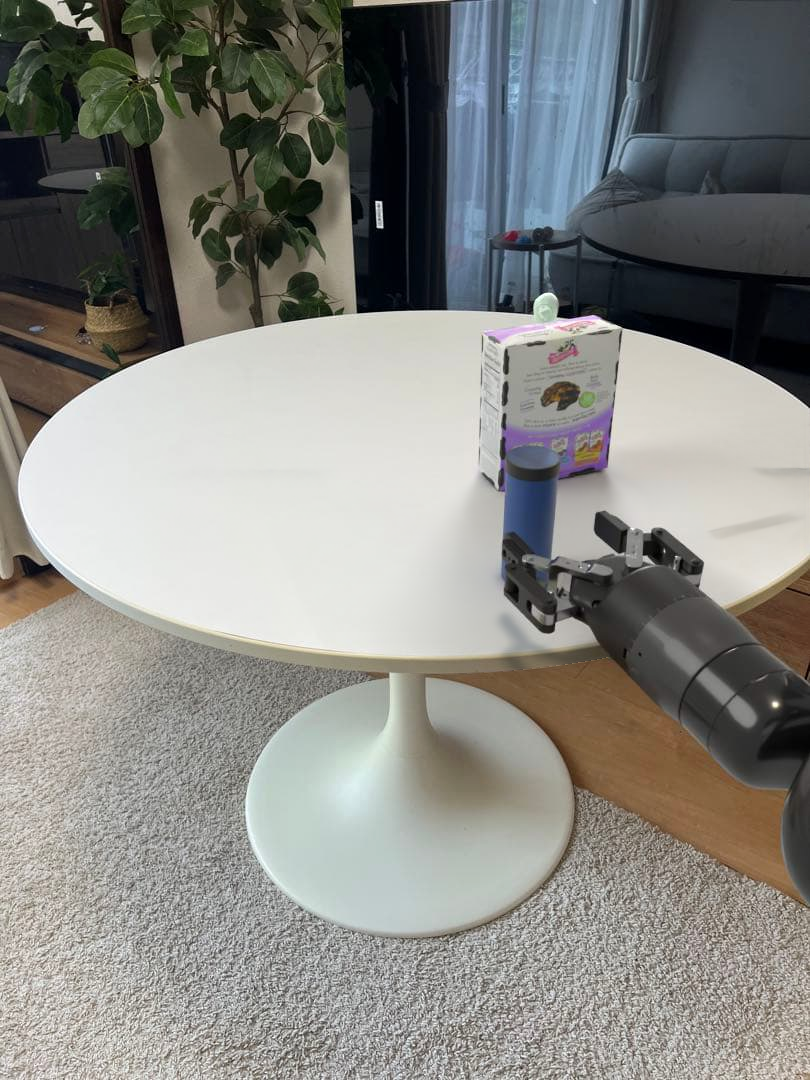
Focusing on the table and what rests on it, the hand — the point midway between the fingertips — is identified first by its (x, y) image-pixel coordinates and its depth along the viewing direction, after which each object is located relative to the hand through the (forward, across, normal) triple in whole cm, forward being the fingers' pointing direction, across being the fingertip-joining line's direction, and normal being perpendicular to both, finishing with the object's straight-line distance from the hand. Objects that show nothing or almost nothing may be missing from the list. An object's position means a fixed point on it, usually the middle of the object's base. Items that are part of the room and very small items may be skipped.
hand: (553, 531), depth 65 cm
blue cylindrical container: (+4, 0, +7) cm, 8 cm away
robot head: (+67, -38, +7) cm, 77 cm away
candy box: (+22, -12, +7) cm, 26 cm away
